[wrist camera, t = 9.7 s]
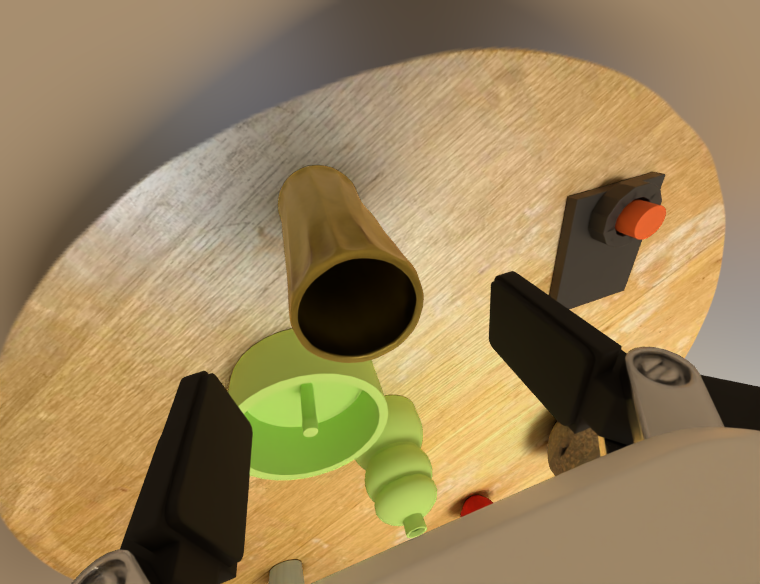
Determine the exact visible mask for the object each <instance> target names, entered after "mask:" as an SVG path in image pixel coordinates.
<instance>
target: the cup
mask: <svg viewBox="0 0 760 584" xmlns="http://www.w3.org/2000/svg"><path fill="white" fill-rule="evenodd" d="M269 584H304V577H303V570H302V563H301V561H299V560H289V561H285V562H282V563H279V564H277V565H276V566H274V567H273V568H272V569H271V570H270V575H269Z"/></svg>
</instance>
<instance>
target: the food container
mask: <svg viewBox="0 0 760 584" xmlns="http://www.w3.org/2000/svg"><path fill="white" fill-rule="evenodd" d="M228 393H229V395H230V396H231V397H232V399H233V400H234V401H235V403H236V404H237V406H238V407H239V408H240V410H241V411H242V412H243V414H244V415H245V417H246V418H247V419H248V421H249V422H250V424H251V426H252V431H253V438H252V451H251V464H250V476H254V477H257V478H261V479H269V480H295V479H303V478H309V477H313V476H317V475H321V474H324V473H327V472H330V471H333V470H335V469H337V468H339V467H342V466H344V465H346V464H348V463H349V462H351V461H353V460H356V462H357V463H358V464H359V465H360V466H361V467H362V468H363V469H365V470H366V474H365V487H366V490H367V493H368V495H369V497H370V498H371V499H372V501H373V502H375V505H374V506H375V511H376V515H377V516H378V517H379V518H380V519H381V520H382V521H383V522H384V523H386V524H389V525H393V526H404V528H405V532H406V535H407V537H408V538H414V537H417V536H419V535H421V534H423V533H424V532H425V531H426V530H427V527H426V524H425V521H424V519H423V517H424V516H426V515H427V514H428V512H429V511H430V510H431V509H432V507H433V505H434V503H435V502H436V498H437V488H436V485H435V483H434V481H433V480H432V466H431V462H430V460H429V458H428V456H427V455H426V454H425V453H424V452H423V451H422V450H421V445H422V441H423V429H422V424H421V421H420V418H419V416H418V413H417V411H416V409H415V407H414V404H413V403H412V402H411V401H410V400H409V399H407V398H406V397H403V396H398V395H387V396H384V394H383V391H382V388H381V385H380V383H379V380H378V377H377V374H376V371H375V369H374V366H373V363H372V360H369V361H365V362H358V363H341V362H335V361H330V360H327V359H323V358H320V357H318V356H316V355H314V354H312V353H311V352H309V351H308V350H306V349H305V348H304V347H303V345H302V344H301V343H300V341H299V340H298V338H297V336H296V335H295V333H294V331H293V329H289V330H285V331H281V332H278V333H276V334H274V335H271V336H269V337H266V338H265V339H263V340H261V341H260V342H258V343H257V344H255V345H253V346H252V347H251V348H250V349H249V350H248V351H247V352H245V353H244V354H243V355H242V357H241V358H240V359H239V361H238V362H237V364H236V365H235V367H234V369H233V372H232V375H231V378H230V384H229V390H228Z"/></svg>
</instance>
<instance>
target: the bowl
mask: <svg viewBox="0 0 760 584" xmlns="http://www.w3.org/2000/svg"><path fill="white" fill-rule="evenodd" d="M547 451H548V463H549V467H550V469H551V471H552V472H553V473H554V475H555V476H557V475H559V474H562V473H564V472H566V471H569V470H571V469H573V468H576V467H578V466H580V465H582V464H585V463H587V462H590V461H592V460H595V459H597V458H600V457H601V456H600V449H599V441H598V435H597V434H596V433H595V432H594V431H593V430H592V429H591V428H588V429H586V430H584V431H581V432H579V433H577V434H574V433H573V432H572V430H571V429H570V428H569V427H568V426H563V425H562V424H560V423H559V422H558V421H557V422H556V424H555V425H554V427H553V428H552V430H551V433H550V436H549V440H548V450H547Z"/></svg>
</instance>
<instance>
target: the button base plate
mask: <svg viewBox="0 0 760 584" xmlns="http://www.w3.org/2000/svg"><path fill="white" fill-rule="evenodd" d="M664 177H665V174H662V173H657V172H652V173H648V174H645V175H641V176H638V177H634V178H631V179H627V180H624V181H621V182H617V183H614V184H610V185H607V186H603V187H600V188H596V189H593V190H589V191H586V192H582V193H579V194H576V195H572V196H569V197H568V199H567V204H566V209H565V215H564V220H563V225H562V231H561V236H560V242H559V247H558V252H557V258H556V263H555V269H554V274H553V279H552V285H551V290H550V295H549V296H550V297H552V298H553V299H555V300H556V301H558V302H559V303H560V304H562V305H563V306H565V307H566V308H568V309H572V308H575V307H578V306H580V305H583V304H586V303H589V302H592V301H595V300H598V299H601V298H603V297H606V296H609V295H612V294H615V293H618V292H621V291H624V289H625V287H626V284H627V281H628V278H629V275H630V273H631V270H632V267H633V264H634V261H635V259H636V256H637V253H638V250H639V247H640V245H641V242H642V240H639V239H636V238H633V237H631V236H628V235H625V234H623V233H620V232H618V231H617V230H616V229H615V224H616V221H617V218H618V216H619V215H620V213H621V212H622V210H623V209H624V208H625V206H627V205H628V204H629V203H630V202H632V201H633V200H638V199H639V200H643V201H647V202H650V203H654V204H658V205H661V202H662V198H661V191H660V189H661V186H662V183H663V180H664Z"/></svg>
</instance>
